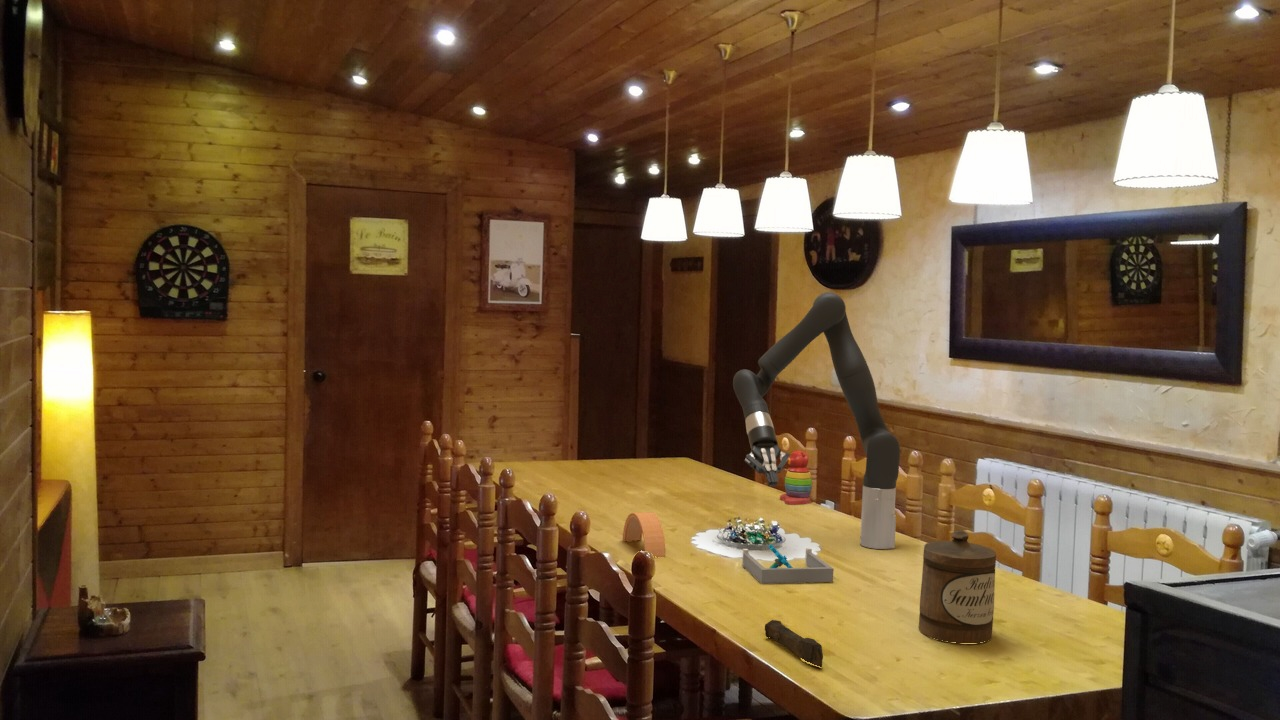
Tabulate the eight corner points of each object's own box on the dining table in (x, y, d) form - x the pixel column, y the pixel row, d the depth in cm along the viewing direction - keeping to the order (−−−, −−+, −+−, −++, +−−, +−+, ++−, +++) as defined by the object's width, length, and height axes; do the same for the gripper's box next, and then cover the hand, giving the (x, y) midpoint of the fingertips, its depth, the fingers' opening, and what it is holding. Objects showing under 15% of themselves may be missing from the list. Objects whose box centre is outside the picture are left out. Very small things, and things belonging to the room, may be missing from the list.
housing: (742, 565, 260) (742, 548, 259) (809, 564, 263) (810, 547, 263) (761, 583, 243) (762, 566, 243) (832, 582, 247) (833, 564, 246)
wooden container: (955, 649, 201) (960, 541, 200) (903, 626, 214) (909, 525, 213) (1007, 639, 208) (1013, 535, 207) (955, 618, 221) (960, 520, 220)
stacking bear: (778, 498, 351) (780, 448, 350) (806, 498, 353) (808, 448, 351) (786, 504, 341) (788, 453, 340) (815, 505, 342) (817, 453, 341)
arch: (644, 559, 263) (645, 522, 263) (622, 541, 282) (623, 506, 282) (665, 558, 265) (666, 521, 265) (641, 540, 284) (643, 505, 284)
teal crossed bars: (800, 574, 247) (773, 544, 248) (783, 590, 247) (755, 560, 248) (797, 568, 258) (771, 539, 259) (781, 584, 258) (754, 555, 259)
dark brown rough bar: (763, 638, 204) (764, 616, 204) (780, 637, 205) (781, 615, 205) (807, 672, 186) (808, 648, 186) (826, 670, 188) (827, 646, 187)
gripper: (740, 425, 274) (753, 478, 264) (786, 423, 277) (800, 476, 266) (735, 440, 280) (747, 493, 270) (780, 438, 283) (794, 491, 272)
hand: (773, 485), depth 268 cm, fingers closed
